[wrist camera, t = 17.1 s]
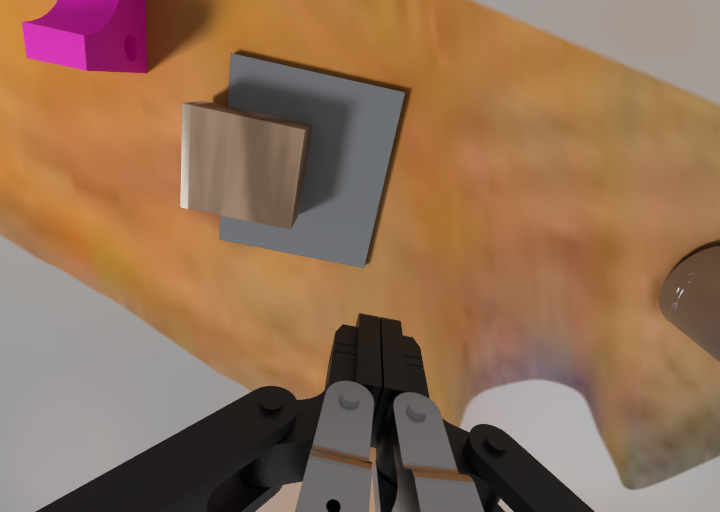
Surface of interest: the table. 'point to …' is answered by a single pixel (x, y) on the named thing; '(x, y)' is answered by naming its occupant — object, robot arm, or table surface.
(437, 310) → the table surface
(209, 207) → the slab
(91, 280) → the table surface
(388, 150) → the mat
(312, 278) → the table surface
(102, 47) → the toy block
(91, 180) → the table surface
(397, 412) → the robot arm
